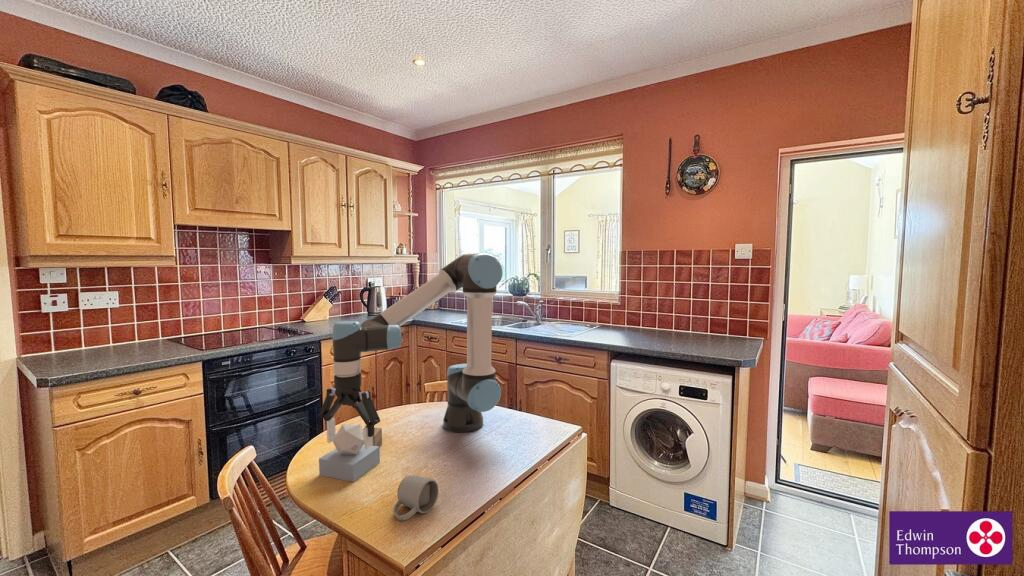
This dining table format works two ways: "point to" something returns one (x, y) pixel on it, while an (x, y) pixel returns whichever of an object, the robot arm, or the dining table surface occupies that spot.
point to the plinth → (349, 463)
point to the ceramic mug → (416, 495)
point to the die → (349, 439)
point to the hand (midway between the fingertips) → (349, 443)
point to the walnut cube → (377, 437)
